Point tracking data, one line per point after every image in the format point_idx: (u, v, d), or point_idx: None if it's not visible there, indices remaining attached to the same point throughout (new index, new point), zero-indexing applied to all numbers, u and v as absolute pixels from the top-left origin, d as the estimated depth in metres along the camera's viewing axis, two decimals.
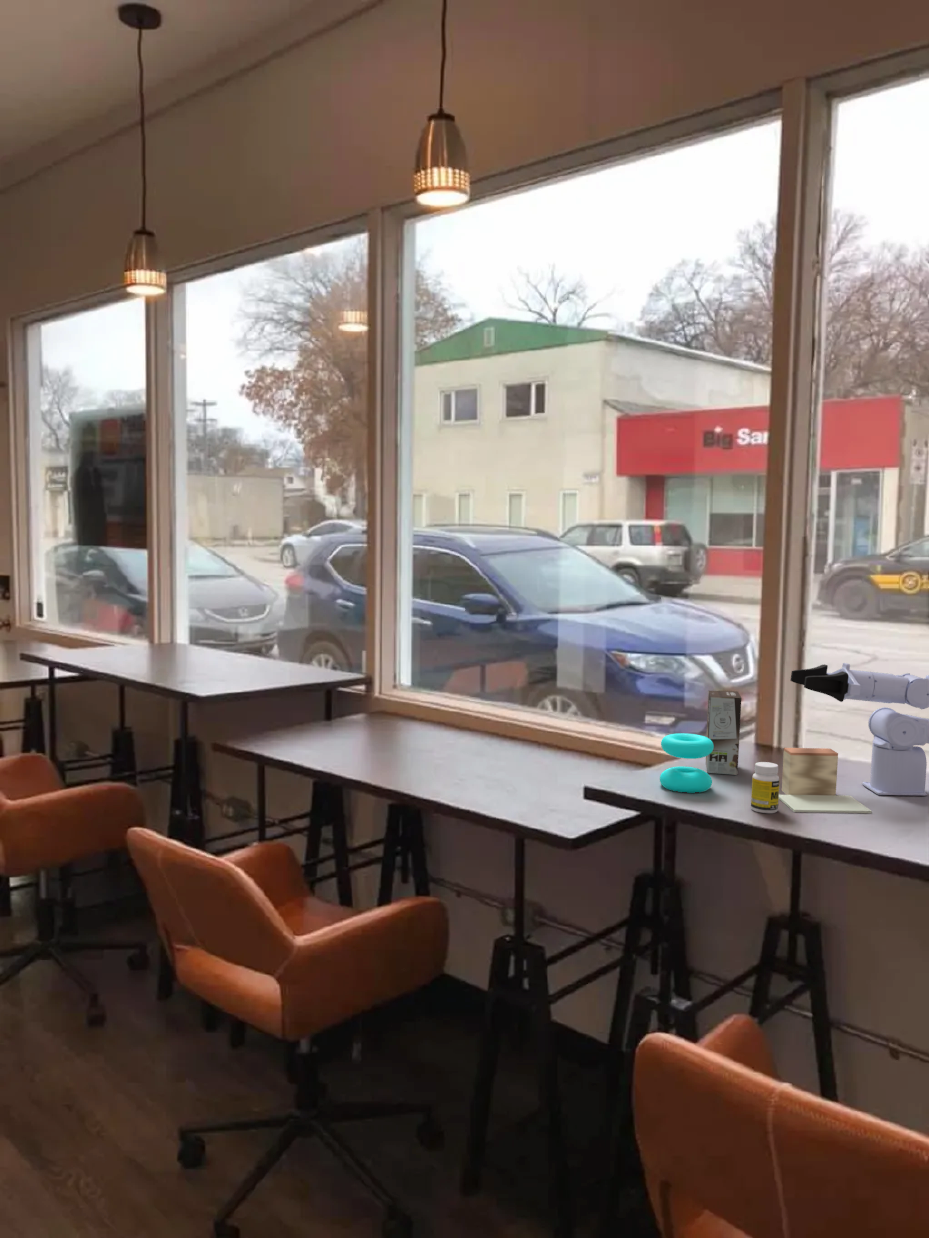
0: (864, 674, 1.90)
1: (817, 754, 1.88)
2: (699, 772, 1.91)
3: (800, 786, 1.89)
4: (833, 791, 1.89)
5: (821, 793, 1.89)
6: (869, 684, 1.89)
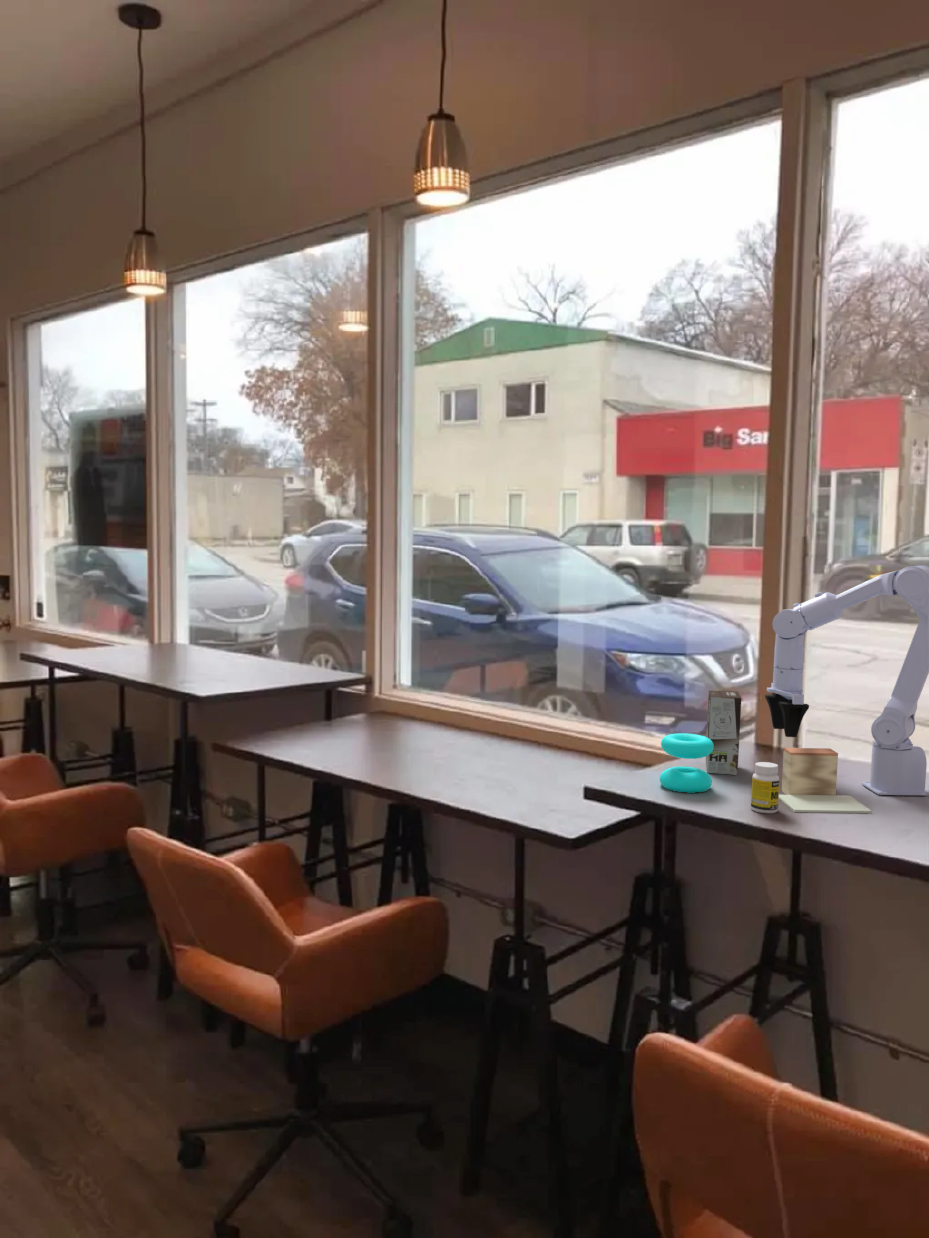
0: (779, 676, 2.02)
1: (817, 754, 1.88)
2: (699, 772, 1.91)
3: (800, 786, 1.89)
4: (833, 791, 1.89)
5: (821, 793, 1.89)
6: (788, 673, 2.01)
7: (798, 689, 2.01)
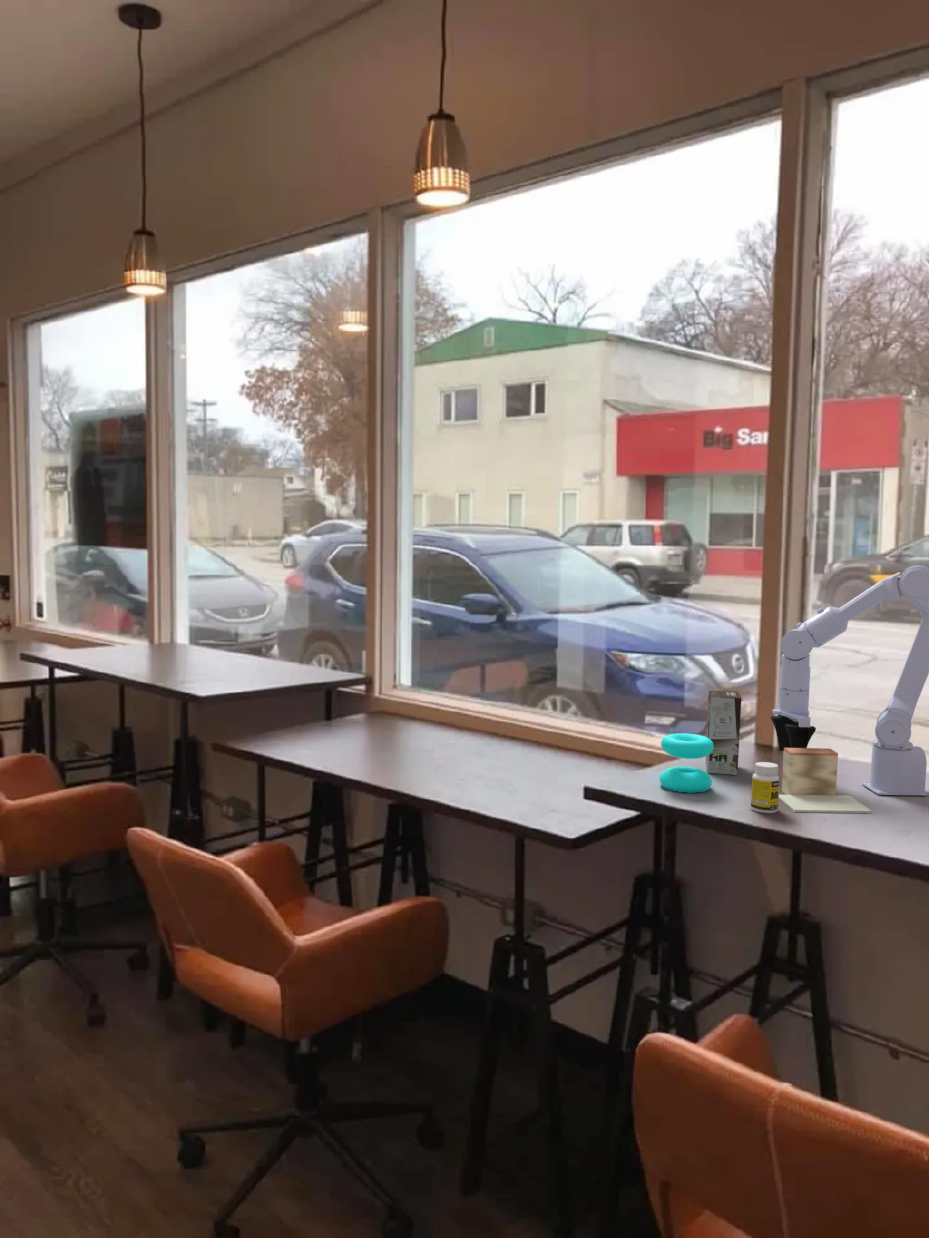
0: (785, 698, 1.98)
1: (817, 754, 1.88)
2: (699, 772, 1.91)
3: (800, 786, 1.89)
4: (833, 791, 1.89)
5: (821, 793, 1.89)
6: (795, 695, 1.97)
7: (804, 711, 1.98)
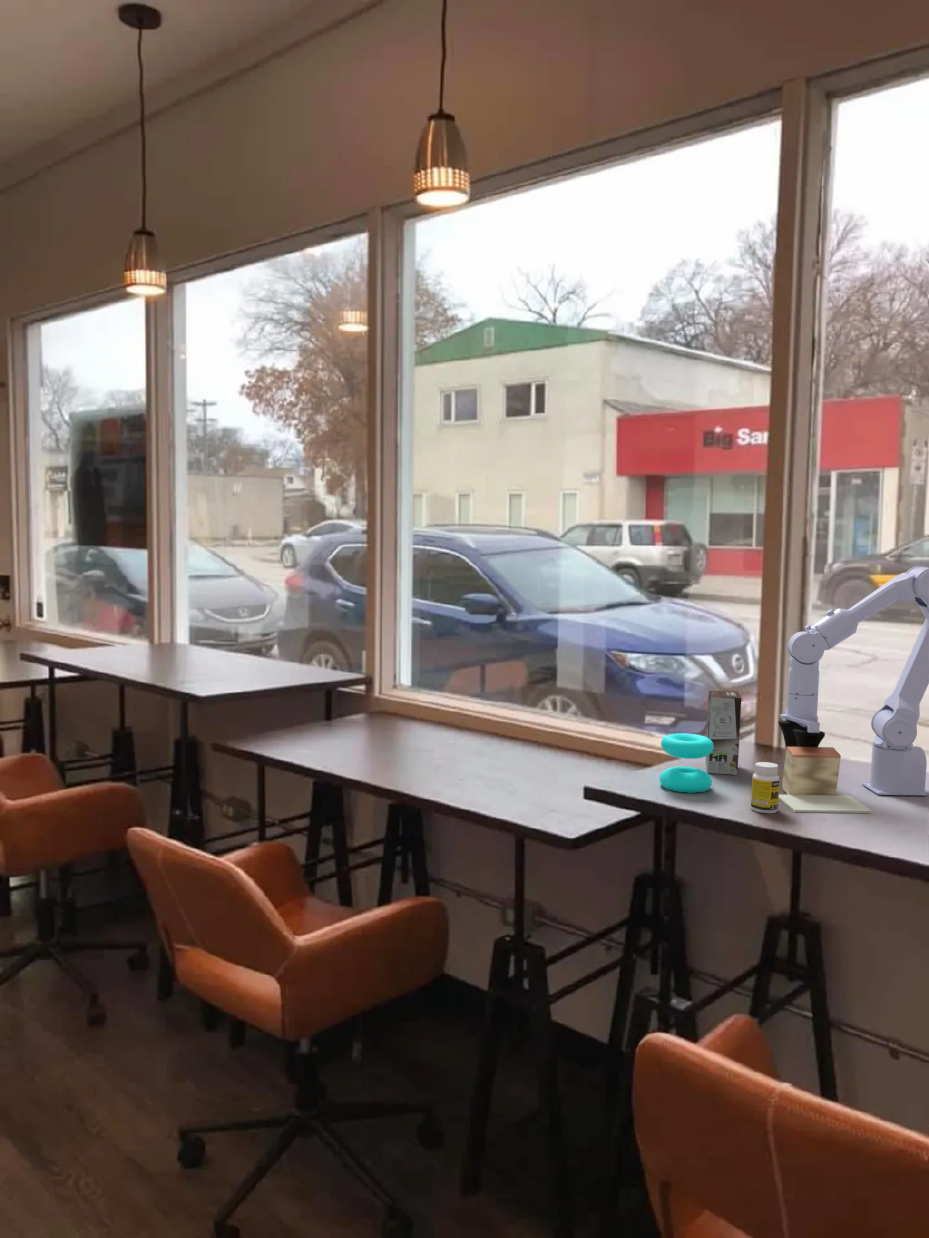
0: (793, 703, 1.93)
1: (820, 756, 1.87)
2: (699, 772, 1.91)
3: (801, 787, 1.88)
4: (834, 791, 1.88)
5: (821, 793, 1.89)
6: (803, 700, 1.92)
7: (813, 716, 1.93)
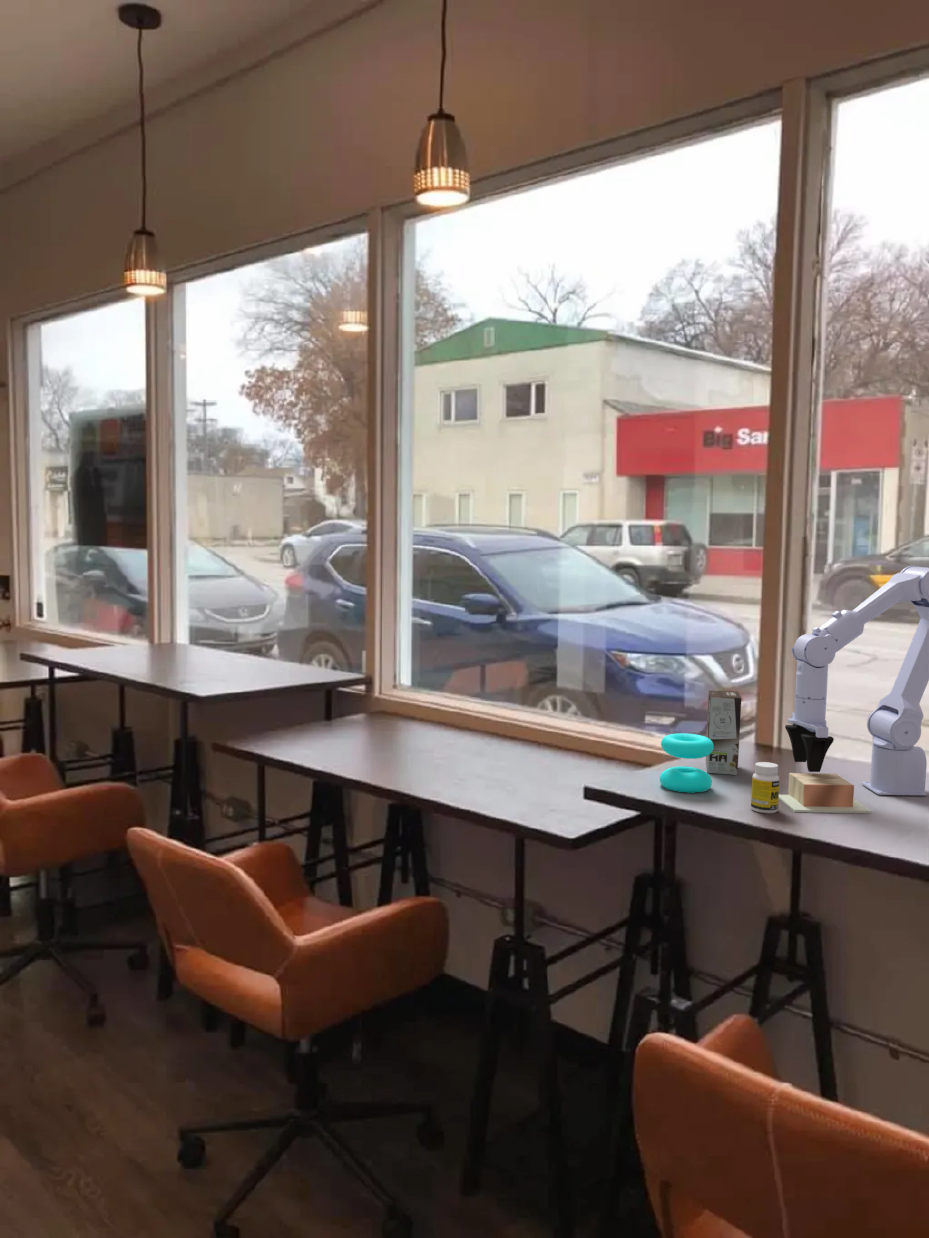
0: (801, 707, 1.89)
1: None
2: (699, 772, 1.91)
3: None
4: None
5: None
6: (811, 704, 1.88)
7: (821, 720, 1.88)
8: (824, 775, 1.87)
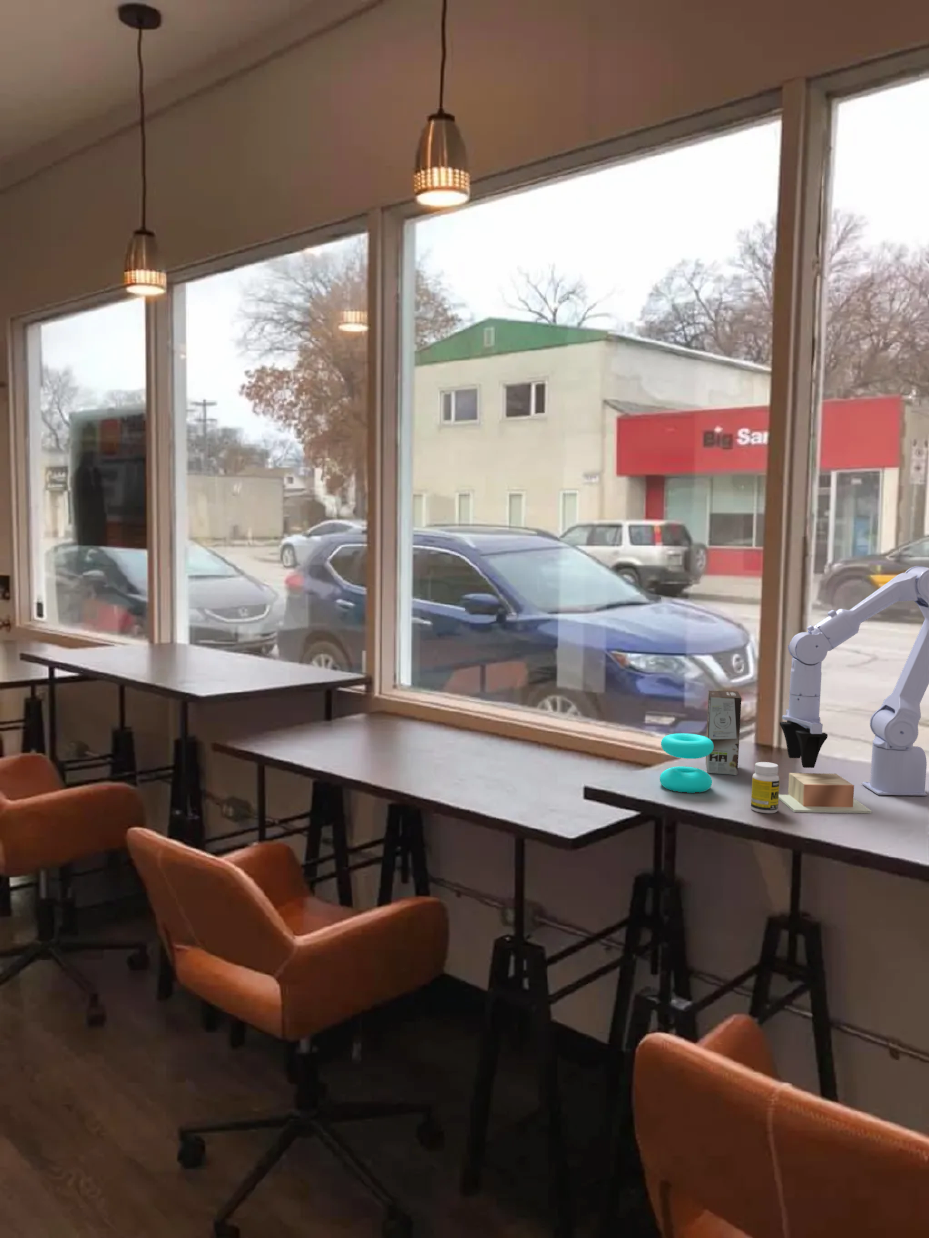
0: (795, 704, 1.92)
1: None
2: (699, 772, 1.91)
3: None
4: None
5: None
6: (806, 701, 1.91)
7: (816, 717, 1.92)
8: (824, 775, 1.87)
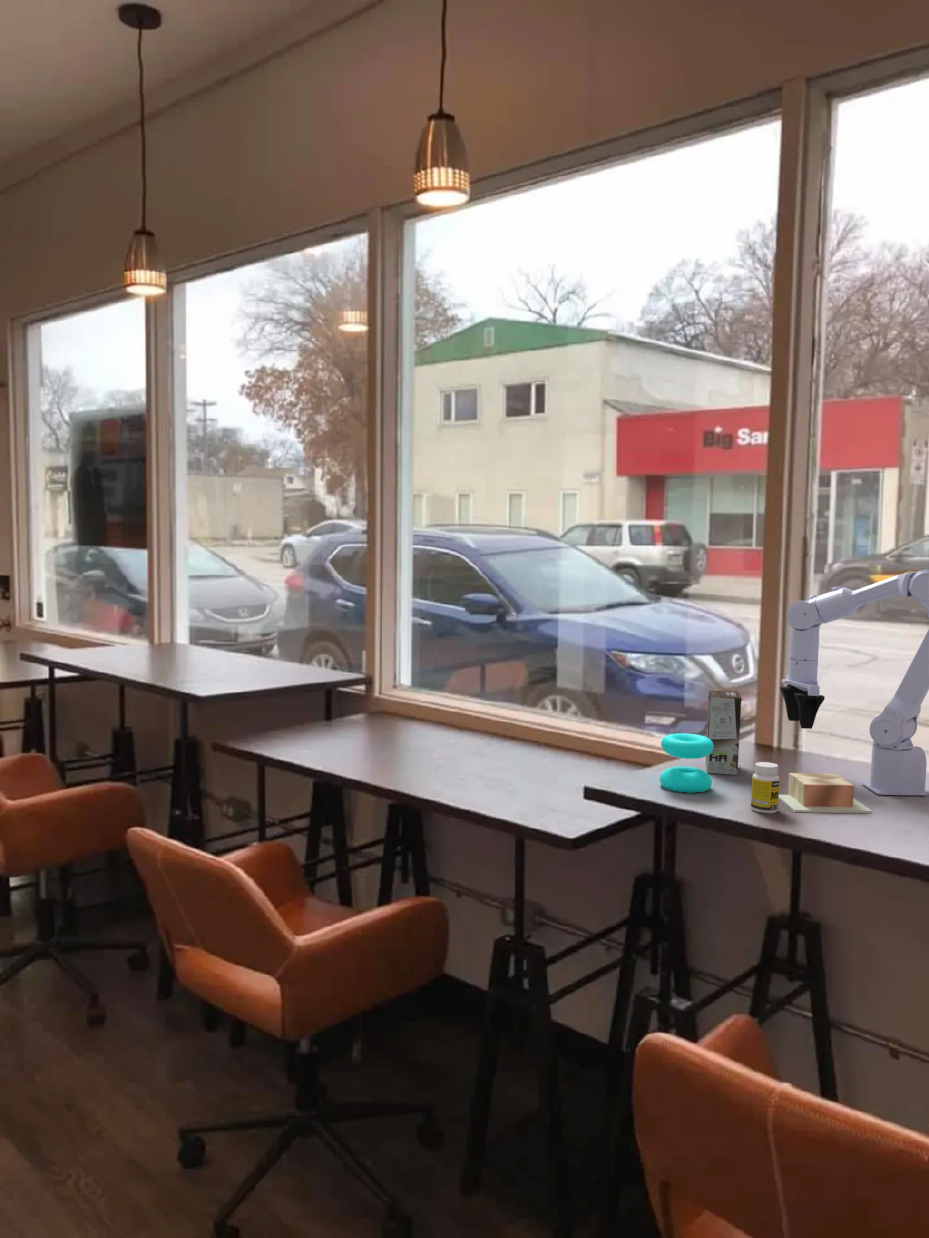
0: (794, 668, 2.02)
1: None
2: (699, 772, 1.91)
3: None
4: None
5: None
6: (804, 665, 2.01)
7: (813, 680, 2.01)
8: (824, 775, 1.87)
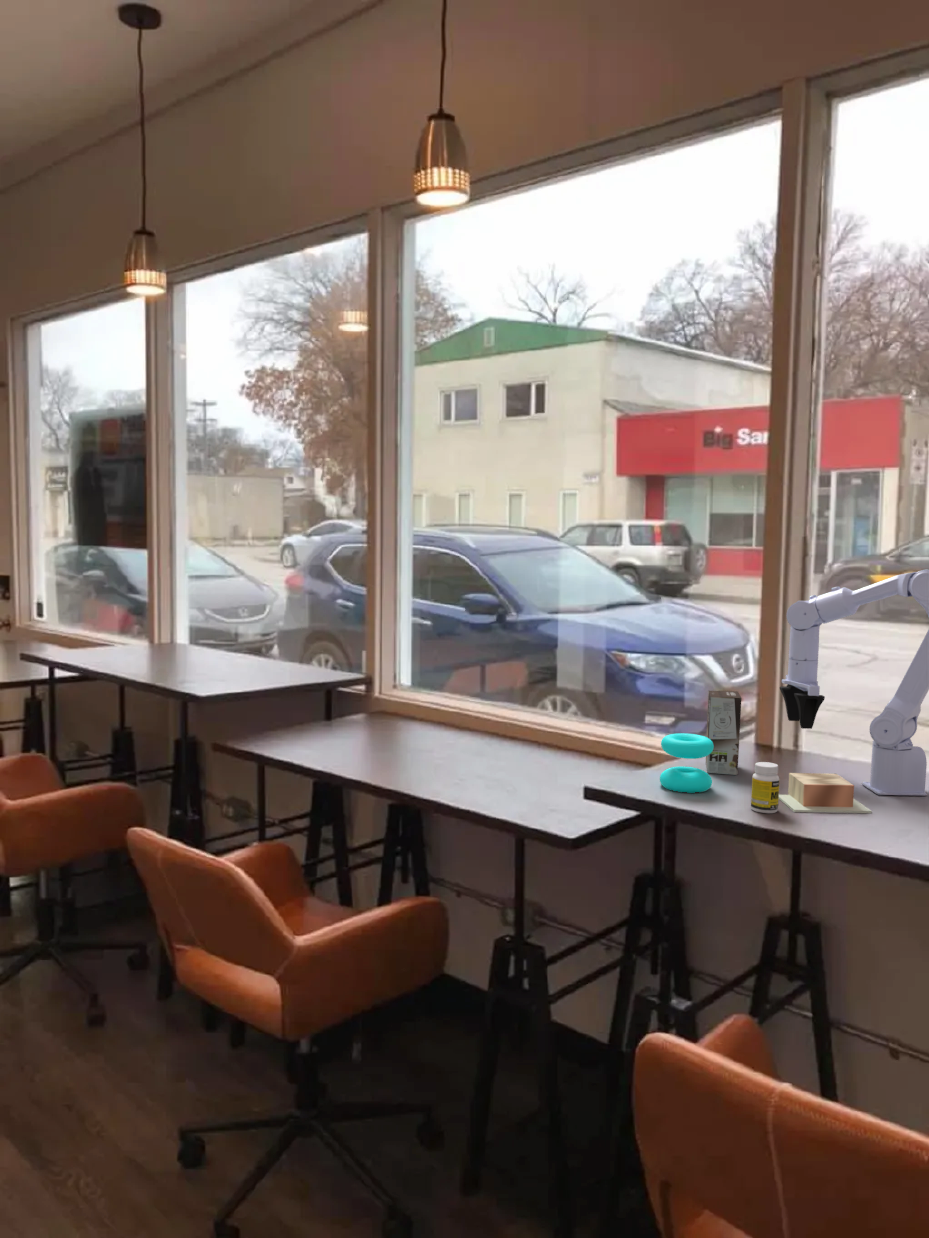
0: (794, 668, 2.02)
1: None
2: (699, 772, 1.91)
3: None
4: None
5: None
6: (804, 665, 2.01)
7: (813, 680, 2.01)
8: (824, 775, 1.87)
